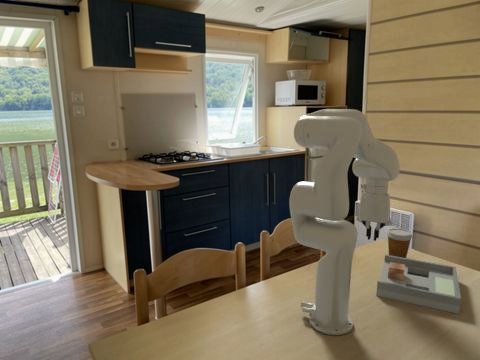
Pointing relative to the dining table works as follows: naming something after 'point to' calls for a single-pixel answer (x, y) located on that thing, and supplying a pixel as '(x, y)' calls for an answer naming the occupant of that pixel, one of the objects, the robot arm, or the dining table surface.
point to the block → (396, 271)
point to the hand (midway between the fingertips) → (372, 238)
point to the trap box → (422, 284)
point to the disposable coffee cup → (398, 242)
